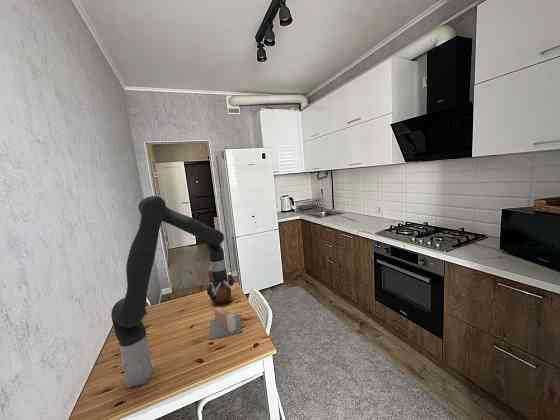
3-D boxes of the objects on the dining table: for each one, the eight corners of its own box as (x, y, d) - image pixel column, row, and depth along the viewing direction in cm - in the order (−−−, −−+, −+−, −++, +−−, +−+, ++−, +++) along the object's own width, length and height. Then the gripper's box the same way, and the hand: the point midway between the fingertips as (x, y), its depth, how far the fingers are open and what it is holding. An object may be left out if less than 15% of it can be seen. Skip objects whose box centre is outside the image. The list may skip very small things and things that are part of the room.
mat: (241, 332, 114) (241, 331, 114) (208, 340, 111) (208, 339, 111) (240, 315, 130) (239, 314, 129) (211, 321, 126) (211, 320, 126)
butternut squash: (232, 295, 153) (228, 260, 150) (231, 305, 140) (226, 267, 137) (211, 298, 151) (206, 263, 148) (208, 309, 138) (203, 270, 135)
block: (218, 306, 124) (234, 314, 115) (220, 319, 126) (236, 329, 116) (214, 309, 122) (229, 317, 113) (215, 322, 123) (231, 332, 114)
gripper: (210, 274, 108) (214, 306, 110) (234, 264, 119) (237, 294, 121) (201, 271, 113) (205, 301, 115) (225, 262, 124) (228, 290, 126)
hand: (221, 297), depth 118 cm, fingers open, 8 cm apart
